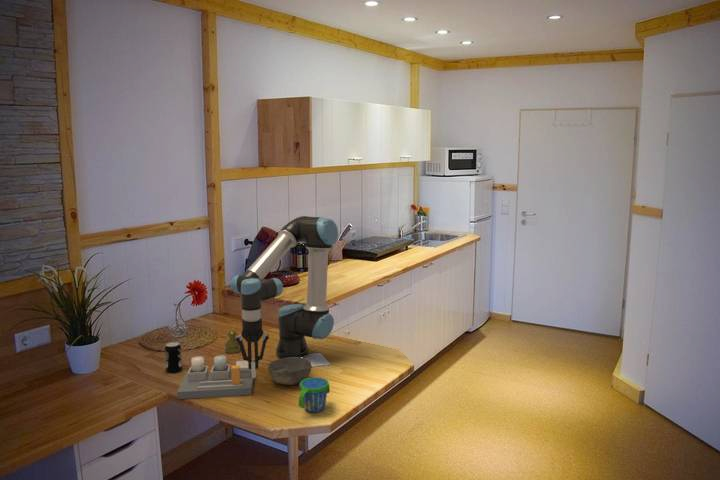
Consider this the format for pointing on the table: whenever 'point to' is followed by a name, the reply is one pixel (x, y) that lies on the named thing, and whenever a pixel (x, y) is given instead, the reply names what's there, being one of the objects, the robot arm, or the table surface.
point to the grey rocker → (243, 365)
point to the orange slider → (236, 375)
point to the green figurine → (232, 343)
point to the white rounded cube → (197, 364)
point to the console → (214, 384)
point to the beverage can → (173, 357)
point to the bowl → (290, 370)
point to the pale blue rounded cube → (220, 363)
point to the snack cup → (313, 393)
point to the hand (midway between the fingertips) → (253, 376)
